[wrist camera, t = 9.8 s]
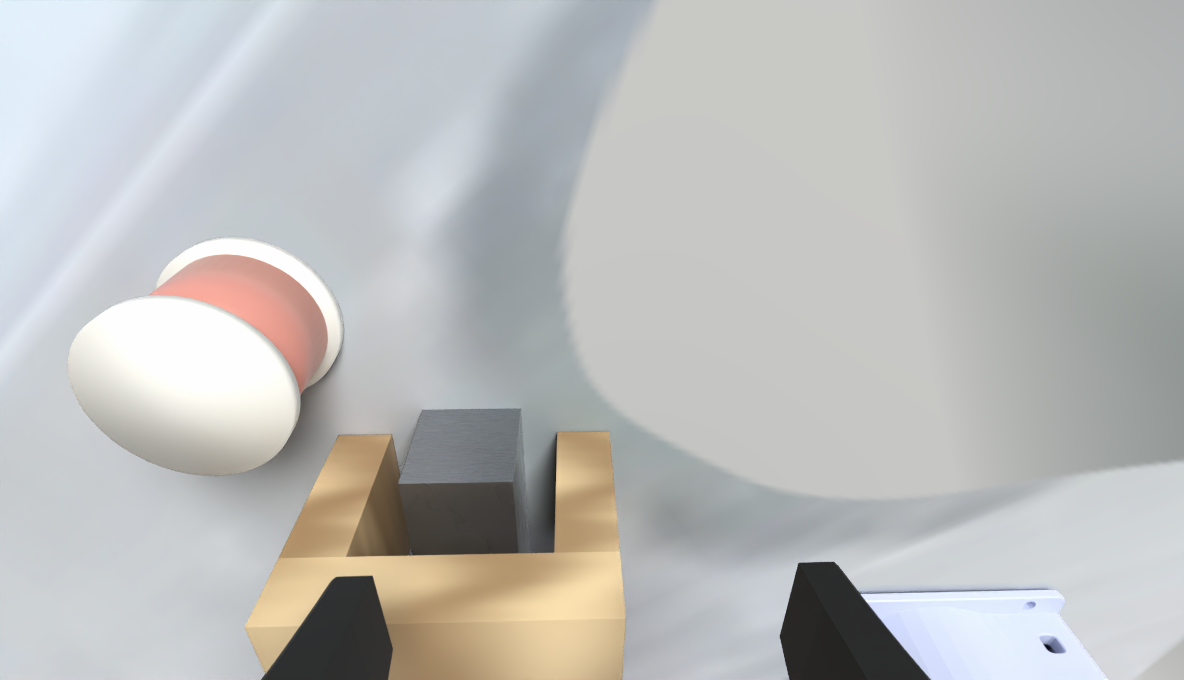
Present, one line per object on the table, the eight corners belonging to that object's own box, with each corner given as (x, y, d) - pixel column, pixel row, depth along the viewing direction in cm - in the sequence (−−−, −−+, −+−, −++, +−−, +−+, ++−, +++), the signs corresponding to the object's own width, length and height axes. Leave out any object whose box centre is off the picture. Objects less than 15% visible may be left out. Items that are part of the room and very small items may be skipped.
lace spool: (324, 236, 17) (262, 304, 14) (357, 385, 20) (313, 474, 16) (138, 236, 17) (28, 306, 14) (196, 387, 20) (117, 477, 16)
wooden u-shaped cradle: (609, 431, 21) (625, 618, 15) (606, 534, 24) (619, 729, 18) (338, 435, 21) (244, 627, 15) (365, 539, 23) (295, 739, 17)
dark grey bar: (522, 408, 20) (514, 484, 17) (539, 686, 29) (536, 770, 26) (420, 409, 20) (395, 486, 17) (467, 688, 29) (455, 772, 26)
